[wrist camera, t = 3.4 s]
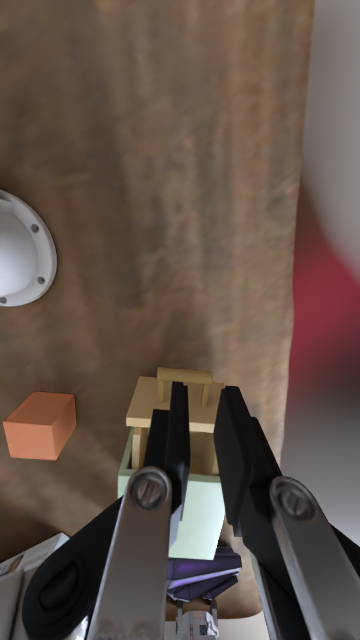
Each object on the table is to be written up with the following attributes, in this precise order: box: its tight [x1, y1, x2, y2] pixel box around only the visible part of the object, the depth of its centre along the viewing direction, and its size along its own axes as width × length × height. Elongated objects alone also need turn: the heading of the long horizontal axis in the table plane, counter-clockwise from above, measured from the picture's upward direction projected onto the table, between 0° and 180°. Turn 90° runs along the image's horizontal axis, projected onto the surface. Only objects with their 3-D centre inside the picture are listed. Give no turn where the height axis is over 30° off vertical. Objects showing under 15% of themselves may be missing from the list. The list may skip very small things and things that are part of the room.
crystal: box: [167, 548, 242, 602], centre depth 40 cm, size 7×12×20 cm
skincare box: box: [0, 533, 70, 577], centre depth 36 cm, size 21×5×16 cm, turn 126°
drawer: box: [126, 367, 225, 476], centre depth 27 cm, size 18×11×7 cm, turn 175°
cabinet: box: [118, 426, 225, 560], centre depth 30 cm, size 15×13×9 cm
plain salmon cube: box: [3, 391, 77, 460], centre depth 29 cm, size 6×6×6 cm
